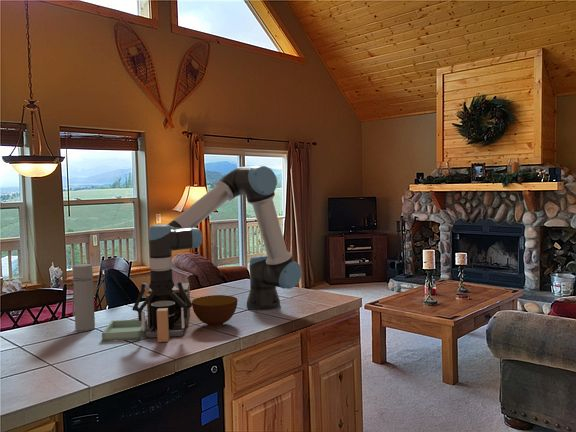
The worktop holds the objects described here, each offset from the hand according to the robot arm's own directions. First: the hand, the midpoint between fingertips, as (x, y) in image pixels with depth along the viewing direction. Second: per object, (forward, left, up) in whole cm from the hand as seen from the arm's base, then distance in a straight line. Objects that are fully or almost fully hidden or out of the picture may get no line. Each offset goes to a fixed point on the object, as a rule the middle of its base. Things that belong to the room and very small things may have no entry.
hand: (163, 328), depth 171 cm
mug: (0, -15, -5) cm, 16 cm away
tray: (+15, -12, -4) cm, 20 cm away
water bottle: (+33, -21, -5) cm, 39 cm away
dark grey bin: (0, -9, -4) cm, 10 cm away
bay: (0, -24, -4) cm, 24 cm away
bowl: (-18, -16, -5) cm, 25 cm away
